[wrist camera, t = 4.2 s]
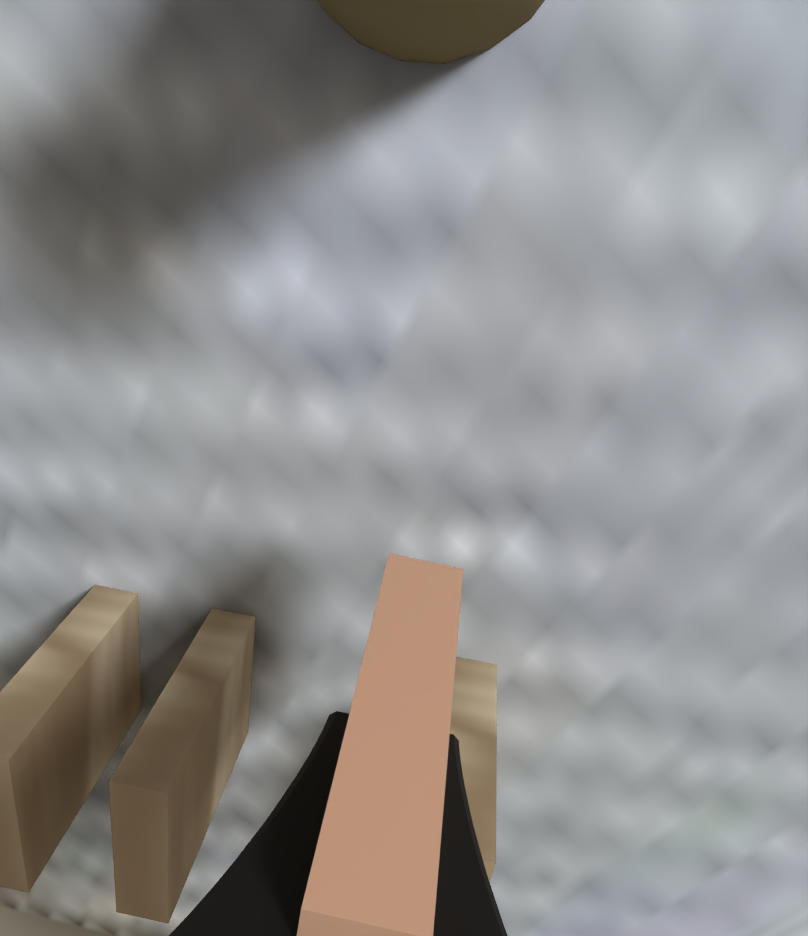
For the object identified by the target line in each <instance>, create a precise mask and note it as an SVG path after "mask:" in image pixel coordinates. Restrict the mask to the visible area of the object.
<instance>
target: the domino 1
mask: <svg viewBox="0 0 808 936" xmlns="http://www.w3.org/2000/svg"><path fill="white" fill-rule="evenodd" d="M140 711H141V684H140V647H139V611H138V593H134V592H129V591H124V590H119V589H114V588H109V587H104V586H99V585H94V586H93V588H92V589H91V590H90V591H89V592H88V593H87V594H86V596H85V597H84V598H83V599H82V600H81V601H80V602H79V603H78V605H77V606H76V607H75V608H74V609H73V610H72V611H71V612H70V614H69V615H68V616H67V617H66V618H65V619H64V620H63V622H62V623H61V624H60V625H59V626H58V627H57V628H56V629H55V631H54V632H53V633H52V634H51V635H50V636H49V637H48V638H47V640H46V641H45V642H44V643H43V644H42V645H41V646H40V647H39V649H38V650H37V651H36V652H35V653H34V654H33V655H32V657H31V658H30V659H29V660H28V661H27V662H26V663H25V664H24V666H23V667H22V668H21V669H20V670H19V671H18V672H17V673H16V675H15V676H14V677H13V678H12V679H11V680H10V681H9V682H8V684H7V685H6V686H5V687H4V688H3V689H2V690H1V692H0V887H5V888H9V889H14V890H18V891H23V892H28V893H29V891H30V889H31V888H32V886H33V885H34V883H35V881H36V880H37V878H38V876H39V875H40V873H41V872H42V870H43V868H44V867H45V865H46V863H47V862H48V860H49V859H50V857H51V855H52V854H53V852H54V850H55V849H56V847H57V846H58V844H59V842H60V841H61V839H62V837H63V836H64V834H65V833H66V831H67V829H68V828H69V826H70V824H71V823H72V821H73V820H74V818H75V816H76V815H77V813H78V811H79V810H80V808H81V807H82V805H83V803H84V802H85V800H86V798H87V797H88V795H89V794H90V792H91V790H92V789H93V787H94V785H95V784H96V782H97V781H98V779H99V777H100V776H101V774H102V772H103V771H104V769H105V768H106V766H107V764H108V763H109V761H110V760H111V758H112V756H113V755H114V753H115V751H116V750H117V748H118V747H119V745H120V743H121V742H122V740H123V738H124V737H125V735H126V734H127V732H128V730H129V729H130V727H131V725H132V724H133V722H134V721H135V719H136V717H137V716H138V714H139V712H140Z"/></svg>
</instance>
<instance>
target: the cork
mask: <svg viewBox="0 0 808 936" xmlns="http://www.w3.org/2000/svg"><path fill="white" fill-rule="evenodd" d="M318 1H319V3H320V5H321V6H322V8H323V10H324V11H326V12H327V13H328V14H329V15H330V16H331V17H332V18H333V19H334V20H335V21H336V22H337V23H338V24H340V25H341V26H342V27H343V28H344V29H345V30H346V31H347V32H348V33H349V34H350V35H351V36H353V37H354V38H355V39H356V40H357V41H358V42H359V43H361V44H364V45H366V46H368V47H370V48H373V49H375V50H377V51H380V52H382V53H384V54H386V55H389V56H391V57H393V58H395V59H398V60H400V61H415V62H433V63H447V62H450V61H454V60H457V59H460V58H463V57H466V56H469V55H473V54H476V53H479V52H482V51H485V50H489V49H491V48H492V47H493V46H495V45H496V44H497V43H499V42H500V41H501V40H503V39H504V38H506V37H507V36H508V35H510V34H511V33H512V32H514V31H515V30H516V29H518V28H519V27H521V26H522V25H523V24H525V23H526V22H527V21H529V20H530V19H531V18H532V16H533V15H534V14H535V13H536V11H537V10H538V9H539V7H540V6H541V5H542V3H543V2H544V1H545V0H318Z"/></svg>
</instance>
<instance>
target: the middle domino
mask: <svg viewBox="0 0 808 936" xmlns="http://www.w3.org/2000/svg"><path fill="white" fill-rule="evenodd" d="M255 622H256V617H254V616H249V615H244V614H239V613H234V612H229V611H224V610H219V609H214V608H212V609H211V611H210V613H209V614H208V616H207V618H206V619H205V621H204V623H203V624H202V626H201V628H200V629H199V631H198V633H197V634H196V636H195V638H194V639H193V641H192V643H191V644H190V646H189V648H188V649H187V651H186V653H185V654H184V656H183V658H182V659H181V661H180V663H179V664H178V666H177V668H176V669H175V671H174V673H173V674H172V676H171V678H170V679H169V681H168V683H167V684H166V686H165V688H164V689H163V691H162V693H161V694H160V696H159V698H158V699H157V701H156V703H155V704H154V706H153V708H152V710H151V711H150V713H149V715H148V716H147V718H146V720H145V721H144V723H143V725H142V726H141V728H140V730H139V731H138V733H137V735H136V736H135V738H134V740H133V741H132V743H131V745H130V746H129V748H128V750H127V751H126V753H125V755H124V756H123V758H122V760H121V761H120V763H119V765H118V766H117V768H116V770H115V771H114V773H113V775H112V776H111V778H110V780H109V794H110V811H111V828H112V844H113V861H114V878H115V895H116V912H119V913H124V914H128V915H133V916H137V917H142V918H146V919H151V920H155V921H160V922H164V923H169V921H170V918H171V916H172V913H173V911H174V909H175V906H176V904H177V901H178V899H179V897H180V894H181V892H182V889H183V887H184V885H185V882H186V880H187V877H188V875H189V873H190V870H191V868H192V865H193V863H194V861H195V858H196V856H197V853H198V851H199V849H200V846H201V844H202V841H203V839H204V837H205V834H206V832H207V829H208V827H209V825H210V822H211V820H212V817H213V815H214V813H215V810H216V808H217V805H218V803H219V801H220V798H221V796H222V793H223V791H224V789H225V786H226V784H227V781H228V779H229V777H230V774H231V772H232V769H233V767H234V765H235V762H236V760H237V757H238V755H239V753H240V750H241V748H242V745H243V743H244V741H245V738H246V736H247V733H248V727H249V712H250V697H251V682H252V667H253V652H254V637H255Z"/></svg>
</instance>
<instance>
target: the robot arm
mask: <svg viewBox="0 0 808 936" xmlns="http://www.w3.org/2000/svg"><path fill="white" fill-rule="evenodd" d="M348 718H349V714H347V713H342V712H337V711H336V712H334V713H332V714H330V715H329V717H328V719H327V722H326V724H325V726H324V728H323V731H322V732H321V734H320V736H319V738H318V740H317V742H316V744H315V746H314V748H313V749H312V751H311V753H310V755H309V756H308V758H307V760H306V761H305V763H304V765H303V766H302V768H301V769H300V771H299V773H298V774H297V776H296V777H295V779H294V780H293V782H292V783H291V785H290V786H289V788H288V789H287V791H286V792H285V794H284V795H283V797H282V798H281V800H280V801H279V803H278V804H277V806H276V807H275V808H274V810H273V811H272V813H271V814H270V816H269V817H268V818H267V820H266V821H265V822H264V824H263V825H262V826H261V828H260V829H259V830H258V832H257V833H256V834H255V835H254V837H253V838H252V839H251V841H250V842H249V843H248V845H247V846H246V847H245V849H244V850H243V851H242V852H241V854H240V855H239V856H238V858H237V859H236V860H235V861H234V863H233V864H232V865H231V866H230V868H229V869H228V870H227V871H226V872H225V874H224V875H223V876H222V877H221V878H220V880H219V881H218V882H217V883H216V884H215V885H214V887H213V888H212V889H211V890H210V891H209V892H208V894H207V895H206V896H205V897H204V898H203V899H202V900H201V901H200V903H199V904H198V905H197V906H196V907H195V908H194V909H193V911H192V912H191V913H190V914H189V915H188V916H187V917H186V918H185V919H184V920H183V921H182V922H181V924H180V925H179V926H178V927H177V928H176V929H175V930H174V931H173V932H172V933H171V934H170V935H169V936H297V931H298V925H299V918H300V912H301V907H302V903H303V899H304V895H305V891H306V887H307V883H308V879H309V875H310V871H311V867H312V863H313V859H314V855H315V851H316V847H317V843H318V839H319V835H320V831H321V827H322V823H323V818H324V814H325V810H326V806H327V802H328V798H329V794H330V790H331V786H332V782H333V778H334V774H335V770H336V766H337V762H338V758H339V754H340V750H341V746H342V742H343V738H344V734H345V730H346V726H347V722H348ZM433 936H507V933H506V930H505V928H504V925H503V922H502V919H501V916H500V913H499V910H498V907H497V904H496V901H495V898H494V895H493V892H492V889H491V886H490V882H489V879H488V876H487V873H486V869H485V866H484V862H483V859H482V855H481V851H480V848H479V844H478V840H477V837H476V833H475V829H474V825H473V821H472V817H471V813H470V808H469V804H468V799H467V794H466V790H465V784H464V779H463V773H462V766H461V758H460V749H459V740H458V739H457V738H456V737H455V735H454V734H450V736H449V748H448V760H447V772H446V784H445V796H444V809H443V821H442V833H441V845H440V857H439V869H438V882H437V894H436V906H435V918H434V930H433Z"/></svg>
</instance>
